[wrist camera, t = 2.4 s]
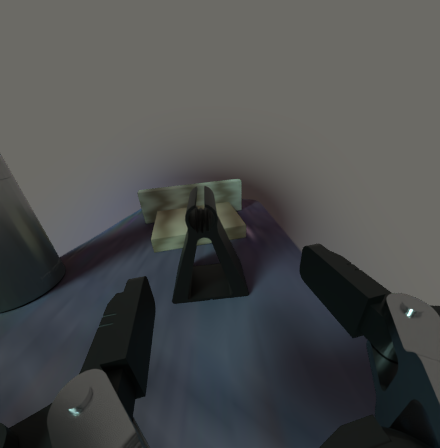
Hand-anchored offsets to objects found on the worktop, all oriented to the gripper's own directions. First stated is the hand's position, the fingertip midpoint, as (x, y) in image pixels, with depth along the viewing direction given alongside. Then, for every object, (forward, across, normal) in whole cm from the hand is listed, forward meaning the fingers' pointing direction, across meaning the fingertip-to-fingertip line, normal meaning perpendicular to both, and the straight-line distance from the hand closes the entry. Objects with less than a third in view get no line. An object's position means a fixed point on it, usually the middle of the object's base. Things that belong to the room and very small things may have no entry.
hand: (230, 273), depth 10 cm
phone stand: (+12, 0, +11) cm, 16 cm away
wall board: (+27, 0, +11) cm, 29 cm away
